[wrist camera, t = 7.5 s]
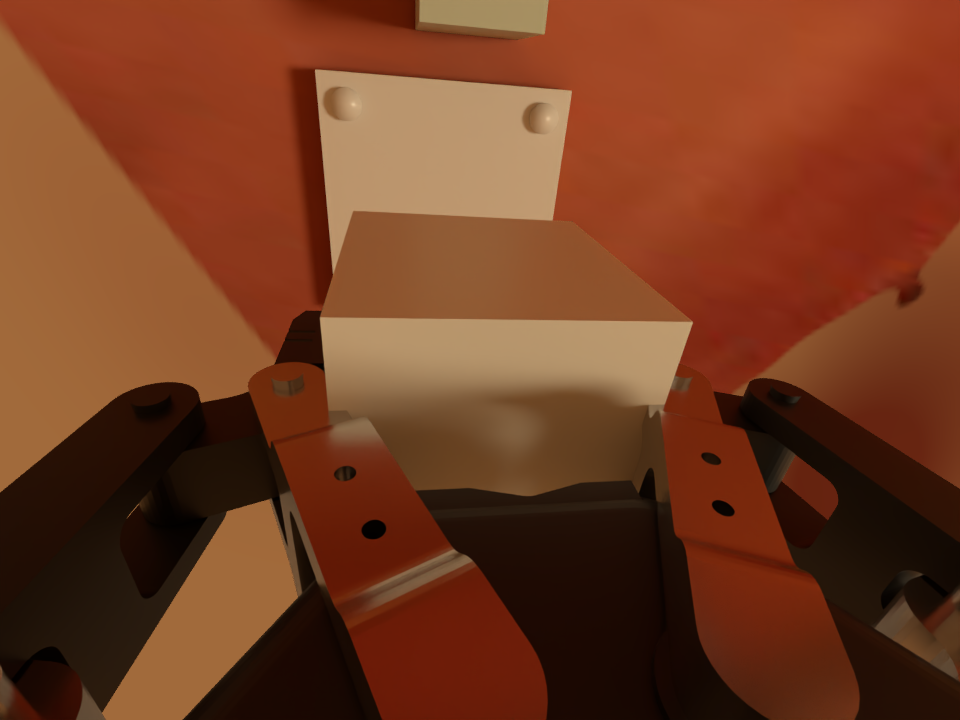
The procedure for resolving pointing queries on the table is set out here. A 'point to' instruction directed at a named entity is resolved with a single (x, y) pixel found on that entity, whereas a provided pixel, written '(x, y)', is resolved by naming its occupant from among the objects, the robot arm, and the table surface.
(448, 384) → the cream brick
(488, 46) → the table surface
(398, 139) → the baseplate
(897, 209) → the table surface
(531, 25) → the sage brick
